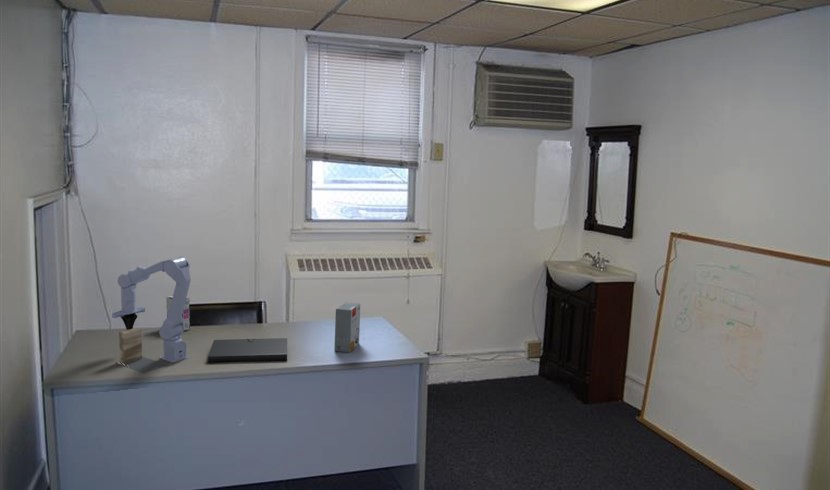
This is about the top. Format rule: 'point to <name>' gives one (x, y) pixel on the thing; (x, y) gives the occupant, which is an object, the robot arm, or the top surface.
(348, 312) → the hard drive box
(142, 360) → the mat
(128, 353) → the maple block
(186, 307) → the candy bar box
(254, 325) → the top surface
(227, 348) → the closed laptop
